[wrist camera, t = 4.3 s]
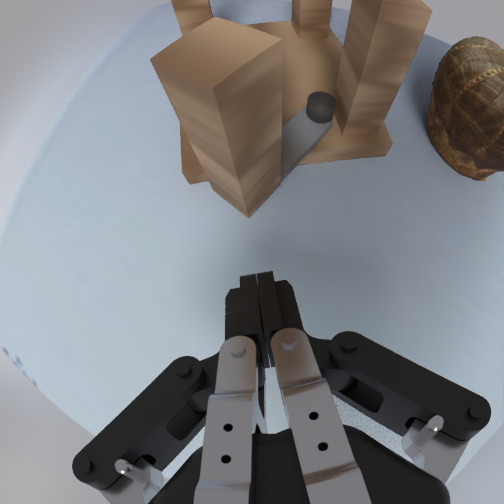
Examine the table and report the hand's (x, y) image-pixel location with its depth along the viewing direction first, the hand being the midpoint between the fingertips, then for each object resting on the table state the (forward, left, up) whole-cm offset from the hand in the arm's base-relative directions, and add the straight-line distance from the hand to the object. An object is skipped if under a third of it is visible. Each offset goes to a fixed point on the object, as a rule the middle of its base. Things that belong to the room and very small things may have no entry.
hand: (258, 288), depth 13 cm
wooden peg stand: (-4, -18, -6) cm, 20 cm away
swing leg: (-3, -9, -4) cm, 10 cm away
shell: (-21, -10, -7) cm, 24 cm away
